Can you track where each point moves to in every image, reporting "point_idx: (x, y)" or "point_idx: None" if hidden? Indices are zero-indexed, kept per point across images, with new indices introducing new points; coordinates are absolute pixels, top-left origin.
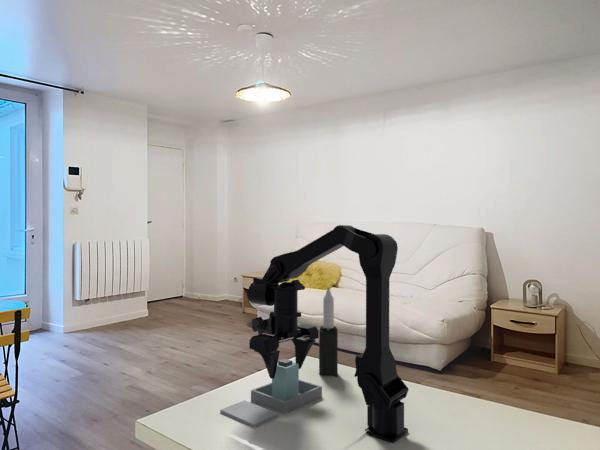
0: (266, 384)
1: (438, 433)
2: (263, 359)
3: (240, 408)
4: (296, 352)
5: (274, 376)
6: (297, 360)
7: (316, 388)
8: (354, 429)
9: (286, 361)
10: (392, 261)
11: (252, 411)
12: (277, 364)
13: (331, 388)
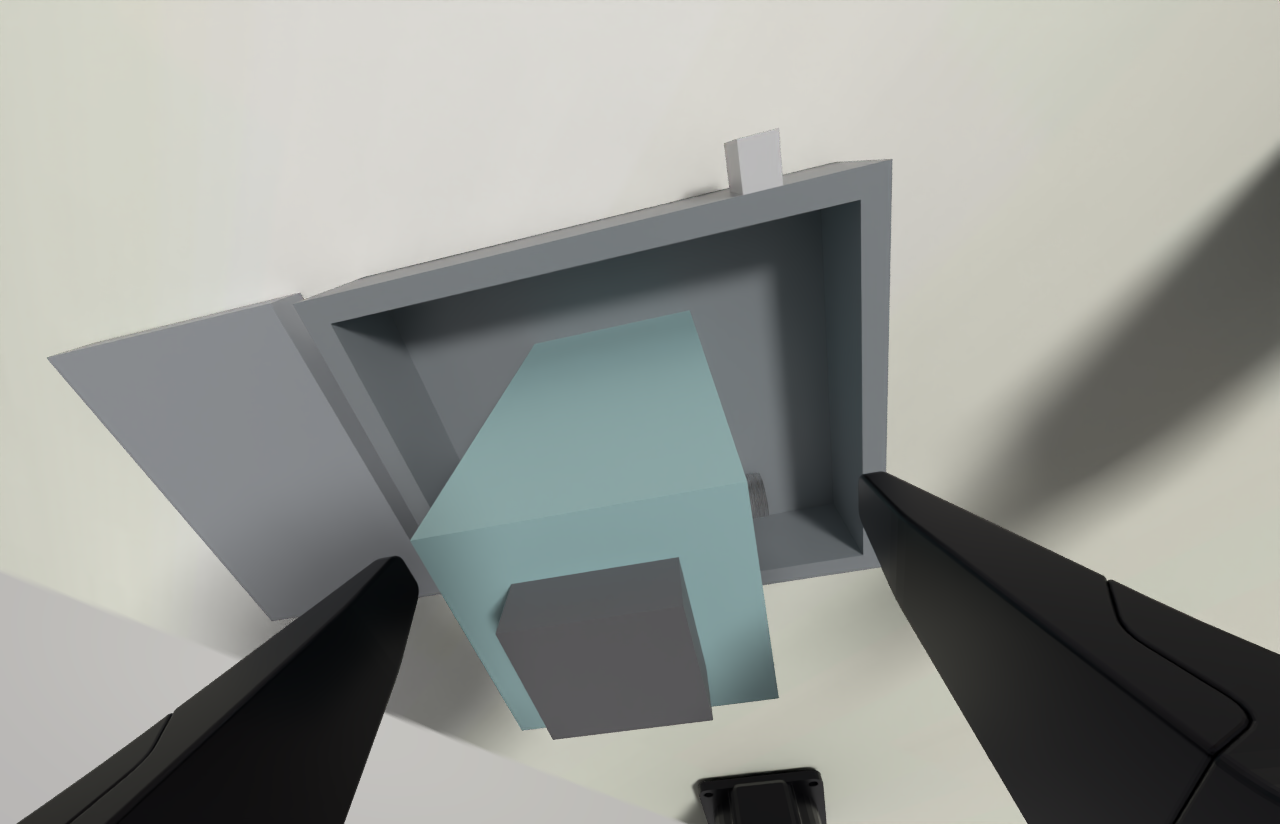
0: (505, 255)
1: None
2: (33, 821)
3: (215, 422)
4: (1047, 663)
5: (409, 617)
6: (922, 569)
7: (818, 573)
8: (692, 753)
9: (609, 704)
10: None
11: (294, 502)
12: (494, 585)
13: (1075, 400)
